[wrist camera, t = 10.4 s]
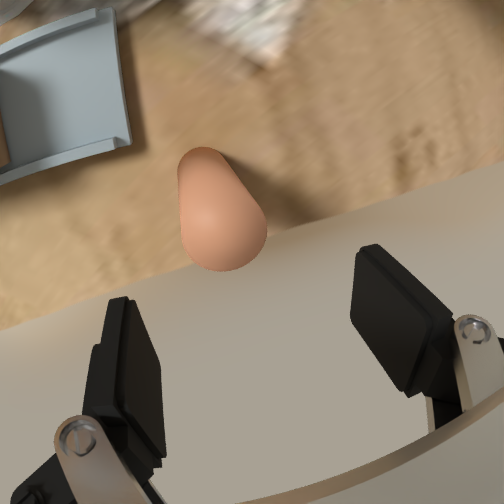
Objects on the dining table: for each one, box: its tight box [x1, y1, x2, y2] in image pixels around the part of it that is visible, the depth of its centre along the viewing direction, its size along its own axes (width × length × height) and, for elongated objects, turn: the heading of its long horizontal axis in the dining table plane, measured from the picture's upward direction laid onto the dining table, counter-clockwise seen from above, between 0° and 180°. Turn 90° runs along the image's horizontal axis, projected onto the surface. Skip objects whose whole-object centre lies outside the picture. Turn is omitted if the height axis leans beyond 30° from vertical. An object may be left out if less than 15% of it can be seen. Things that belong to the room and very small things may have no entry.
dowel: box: [178, 147, 267, 271], centre depth 20 cm, size 4×4×12 cm
